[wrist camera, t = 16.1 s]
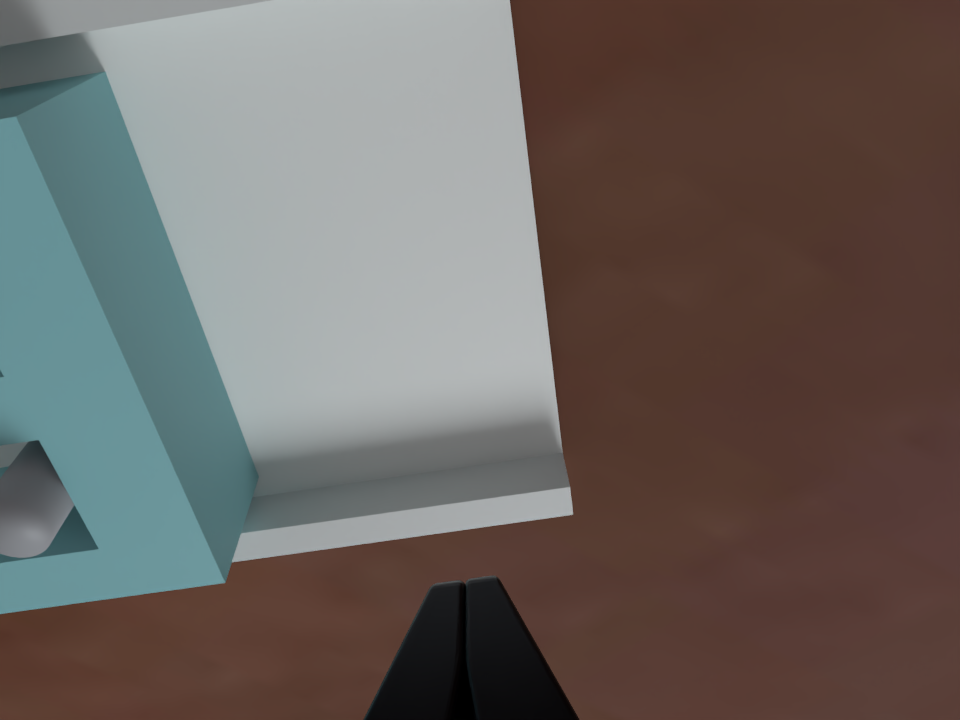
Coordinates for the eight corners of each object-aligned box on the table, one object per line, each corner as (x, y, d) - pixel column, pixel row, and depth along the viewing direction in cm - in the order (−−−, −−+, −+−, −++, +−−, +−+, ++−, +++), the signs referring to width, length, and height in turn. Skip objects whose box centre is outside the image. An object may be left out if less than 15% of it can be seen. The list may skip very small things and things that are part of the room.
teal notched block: (105, 71, 16) (16, 116, 13) (258, 476, 22) (225, 582, 19) (-209, 123, 17) (-378, 181, 13) (23, 510, 22) (-53, 621, 19)
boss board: (493, -103, 16) (519, -103, 11) (560, 454, 24) (594, 614, 18) (-235, 24, 17) (-550, 81, 11) (56, 526, 24) (-53, 701, 19)
